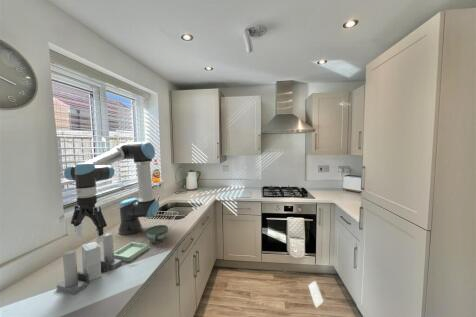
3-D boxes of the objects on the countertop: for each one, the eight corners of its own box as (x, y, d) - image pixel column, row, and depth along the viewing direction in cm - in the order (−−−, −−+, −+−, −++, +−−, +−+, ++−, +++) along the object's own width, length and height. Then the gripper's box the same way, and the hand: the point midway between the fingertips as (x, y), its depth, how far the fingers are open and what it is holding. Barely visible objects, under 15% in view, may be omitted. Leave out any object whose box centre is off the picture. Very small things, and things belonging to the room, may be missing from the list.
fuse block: (57, 289, 88) (54, 253, 87) (106, 260, 110) (104, 231, 109) (74, 294, 84) (71, 257, 83) (121, 263, 106) (119, 234, 105)
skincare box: (82, 275, 98) (80, 245, 97) (97, 269, 102) (95, 240, 101) (87, 282, 92) (85, 250, 91) (102, 275, 97) (100, 245, 96)
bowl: (173, 237, 135) (172, 226, 135) (159, 247, 123) (158, 234, 122) (156, 235, 140) (156, 224, 139) (141, 244, 127) (140, 232, 126)
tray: (110, 258, 112) (110, 254, 111) (132, 245, 125) (131, 241, 125) (128, 262, 108) (128, 257, 108) (148, 248, 122) (148, 244, 121)
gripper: (59, 196, 95) (62, 240, 96) (98, 199, 87) (101, 247, 88) (76, 193, 102) (79, 234, 103) (114, 195, 94) (116, 240, 95)
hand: (89, 240), depth 96 cm, fingers open, 13 cm apart
